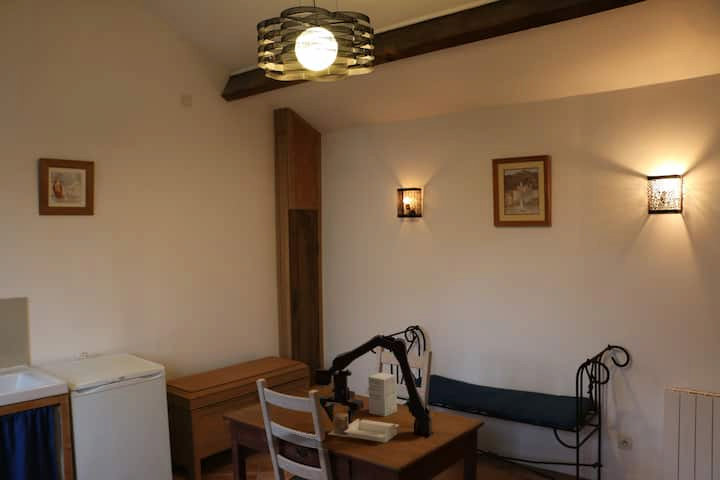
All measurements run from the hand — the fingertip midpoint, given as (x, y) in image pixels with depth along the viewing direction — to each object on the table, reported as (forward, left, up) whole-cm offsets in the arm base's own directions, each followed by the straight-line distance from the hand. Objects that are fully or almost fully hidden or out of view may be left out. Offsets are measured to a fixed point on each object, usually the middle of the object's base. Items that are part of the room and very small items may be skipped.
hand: (341, 423), depth 248 cm
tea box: (0, 0, -4) cm, 4 cm away
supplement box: (-3, -32, -4) cm, 32 cm away
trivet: (0, 0, -4) cm, 4 cm away
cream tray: (-13, -2, -4) cm, 14 cm away
